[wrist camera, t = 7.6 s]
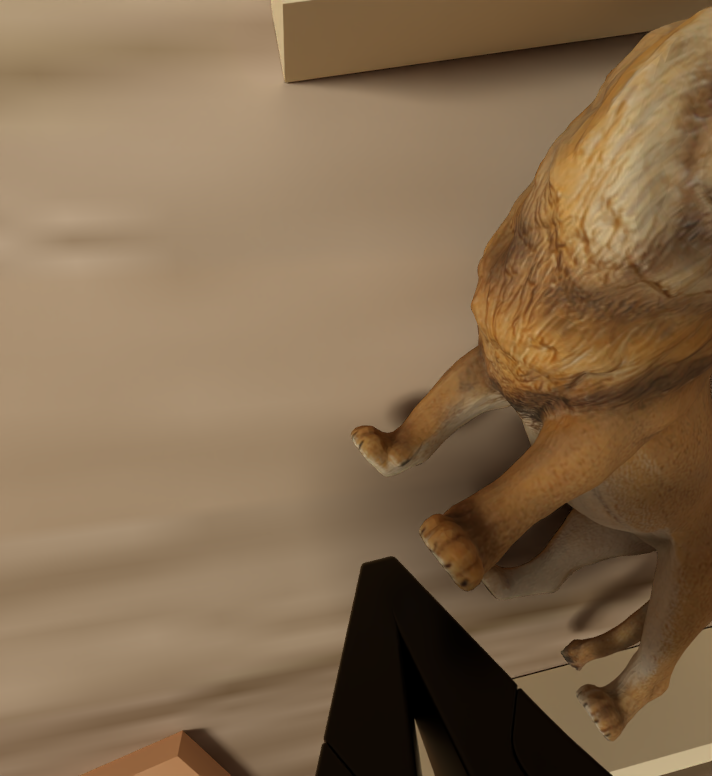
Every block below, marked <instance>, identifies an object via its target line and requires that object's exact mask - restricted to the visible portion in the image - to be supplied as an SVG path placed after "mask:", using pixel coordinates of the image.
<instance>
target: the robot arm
mask: <svg viewBox="0 0 712 776" xmlns="http://www.w3.org/2000/svg"><path fill="white" fill-rule="evenodd" d="M415 721H416V724H417V727H418V730H419V733H420V735H421V738H422V741H423V744H424V747H425V749H426V752H427V755H428V758H429V761H430V763H431V766H432V769H433V772H434V775H435V776H613V775H612V774H611V773H609V772H608V771H607V770H606V769H605V768H604V767H603V766H601V765H600V764H599V763H598V762H597V761H596V760H595V759H594V758H593V757H591V756H590V755H589V754H588V753H587V752H586V751H585V750H584V749H582V748H581V747H580V746H579V745H578V744H577V743H576V742H575V741H574V740H572V739H571V738H570V737H569V736H568V735H567V734H566V733H565V732H564V731H563V730H562V729H561V728H560V727H559V726H558V725H557V724H556V723H555V722H554V721H553V720H552V719H551V718H550V717H549V716H548V715H547V714H546V713H545V712H544V711H543V710H542V709H541V708H540V707H539V706H538V705H537V704H536V703H535V702H534V701H533V700H532V699H531V698H530V697H529V696H528V695H527V694H526V693H525V692H524V691H523V690H522V689H521V688H519V689H518V685H517V684H516V683H515V682H514V681H513V679H512V678H511V677H510V676H509V675H508V674H507V673H506V672H505V671H504V670H503V669H502V668H501V667H500V666H499V665H498V664H497V663H496V662H495V661H494V660H493V659H492V658H491V657H490V656H489V655H488V653H487V652H486V651H485V650H484V649H483V648H482V647H481V646H480V645H479V644H478V643H477V642H476V641H475V640H474V639H473V638H472V637H471V636H470V635H469V634H468V633H467V632H466V631H465V630H464V628H463V627H462V626H461V625H460V624H459V623H458V622H457V621H456V620H455V619H454V618H453V617H452V616H451V615H450V614H449V613H448V612H447V611H446V610H445V609H444V608H443V607H442V606H441V605H440V604H439V602H438V601H437V600H436V599H435V598H434V597H433V596H432V595H431V594H430V593H429V592H428V591H427V590H426V589H425V588H424V587H423V586H422V585H421V584H420V583H419V582H418V581H417V580H416V579H415V578H414V576H413V575H412V574H411V573H410V572H409V571H408V570H407V569H406V568H405V567H404V566H403V565H402V564H401V563H400V562H399V561H398V560H397V559H396V558H395V557H393V556H390V557H386V558H382V559H378V560H374V561H370V562H366V563H363V564H362V566H361V569H360V574H359V578H358V583H357V587H356V592H355V597H354V601H353V606H352V610H351V615H350V620H349V624H348V629H347V633H346V638H345V643H344V647H343V652H342V656H341V661H340V666H339V670H338V675H337V679H336V684H335V689H334V693H333V698H332V702H331V707H330V712H329V716H328V721H327V725H326V730H325V735H324V742H325V743H323V744H322V747H321V752H320V756H319V761H318V765H317V770H316V774H315V776H422V769H421V762H420V754H419V747H418V740H417V733H416V726H415Z"/></svg>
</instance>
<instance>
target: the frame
mask: <svg viewBox="0 0 712 776" xmlns="http://www.w3.org/2000/svg"><path fill="white" fill-rule="evenodd" d="M271 7H272V15H273V20H274V26H275V31H276V37H277V42H278V48H279V53H280V59H281V64H282V70H283V75H284V81H285V83H287V82H294V81H301V80H308V79H315V78H322V77H329V76H336V75H343V74H350V73H358V72H365V71H372V70H379V69H386V68H393V67H400V66H407V65H414V64H421V63H428V62H435V61H442V60H449V59H457V58H464V57H471V56H478V55H485V54H492V53H499V52H506V51H513V50H520V49H527V48H534V47H541V46H548V45H555V44H563V43H570V42H577V41H584V40H591V39H598V38H605V37H612V36H619V35H626V34H633V33H640V32H647V31H652V30H655V29H658V28H660V27H663V26H665V25H668V24H671V23H673V22H676V21H680V20H684V19H689V18H690V17H692V16H693V15H694V14H696V13H697V12H699V11H701V10H703V9H705V8H707V7H712V0H271ZM638 648H639V646H638V647H635V648H631V649H627V650H623V651H619V652H616V653H614V654H611V655H609V656H606V657H603V658H598V659H595V660H592V661H590V662H588V663H586V664H585V665H584V666H583V667H582V669H581V670H580V671H577V670H576V668H573V667H572V666H571V665H566V666H562V667H558V668H554V669H551V670H547V671H543V672H539V673H535V674H531V675H528V676H524V677H520V678H516V679H513V681H514V682H515V683H516V684H517V685H518V689H519V688H521V689H522V690H523V691H524V692H525V693H526V694H527V695H528V696H529V697H530V698H531V699H532V700H533V701H534V702H535V703H536V704H537V705H538V706H539V707H540V708H541V709H542V710H543V711H544V712H545V713H546V714H547V715H548V716H549V717H550V718H551V719H552V720H553V721H554V722H555V723H556V724H557V725H558V726H559V727H560V728H561V729H562V730H563V731H564V732H565V733H566V734H567V735H568V736H569V737H570V738H571V739H572V740H574V741H575V742H576V743H577V744H578V745H579V746H580V747H581V748H582V749H584V750H585V751H586V752H587V753H588V754H589V755H590V756H591V757H593V758H594V759H595V760H596V761H597V762H598V763H599V764H600V765H601V766H603V767H604V768H605V769H606V770H607V771H608V772H609V773H611V774H612V775H613V776H660V775H663V774H667V773H670V772H674V771H677V770H681V769H684V768H688V767H691V766H695V765H698V764H702V763H705V762H709V761H712V627H711V628H707V629H703V630H702V631H701V632H700V633H699V634H698V635H697V637H696V638H695V639H694V640H693V641H692V642H691V644H690V645H689V646H688V648H687V649H686V650H685V651H684V653H683V654H682V656H681V657H680V659H679V660H678V662H677V663H676V665H675V667H674V670H673V672H672V674H671V678H670V683H669V687H668V689H667V690H666V691H665V692H664V693H663V694H662V695H661V696H659V697H658V698H656V699H654V700H652V701H650V702H649V703H647V704H646V705H645V706H644V707H643V708H642V709H640V710H639V711H638V712H637V713H636V715H635V716H634V717H633V718H632V719H631V720H630V721H629V722H628V724H627V725H626V726H625V728H624V730H623V731H622V733H621V734H620V736H619V737H618V738H617V739H616V740H615V741H608V740H607V739H606V738H605V737H604V736H603V735H602V733H601V732H600V731H599V729H598V728H597V727H596V725H595V724H594V723H593V721H592V720H591V718H590V716H589V714H588V713H587V711H586V710H585V708H584V707H583V706H582V705H581V704H580V702H579V700H578V699H577V697H576V691H577V690H578V689H579V688H580V687H581V686H583V685H585V684H592V685H595V686H597V687H603V686H606V685H607V684H609V683H610V682H612V681H613V680H615V679H616V678H617V677H618V676H619V675H620V674H621V673H622V671H623V670H624V669H625V668H626V666H627V665H628V663H629V661H630V659H631V658H632V656H633V655H634V654H635V653H636V651H637V650H638ZM415 726H416V733H417V740H418V747H419V754H420V762H421V769H422V776H435V775H434V772H433V769H432V766H431V763H430V761H429V758H428V755H427V752H426V749H425V747H424V744H423V741H422V738H421V735H420V733H419V730H418V727H417V724H416V721H415Z"/></svg>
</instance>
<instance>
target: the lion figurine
mask: <svg viewBox="0 0 712 776" xmlns="http://www.w3.org/2000/svg"><path fill="white" fill-rule="evenodd" d="M478 277H479V280H478V285H477V288H476V291H475V294H474V297H473V300H472V303H471V310H472V312H473V313H474V315H475V318H476V321H477V324H478V334H479V340H478V346H477V347H476V348H474V349H473V350H471V351H470V352H468V353H467V354H466V355H464V356H463V357H462V358H460V359H459V360H458V361H457V362H456V363H455V364H454V365H453V366H452V367H451V368H450V369H449V370H448V371H447V372H446V373H445V374H444V375H443V376H442V377H441V378H440V379H439V381H438V382H437V383H436V384H435V385H434V387H433V388H432V389H431V390H430V392H429V393H428V394H427V395H426V396H425V397H424V398H423V399H422V400H421V401H420V402H419V404H418V405H417V406H416V407H415V408H414V409H413V411H412V412H411V413H410V415H409V416H408V417H407V419H406V420H405V421H404V423H403V424H402V425H401V426H400V427H399V428H397V429H396V430H395V431H393V432H390V433H385V432H381V431H380V430H378V429H376V428H375V427H373V426H360V427H357V428H355V429H354V430H353V431H352V433H351V439H352V441H353V442H354V444H355V445H356V446H357V448H358V449H359V450H360V452H361V453H362V455H363V456H364V457H365V458H366V460H367V461H368V462H369V463H370V464H371V465H373V466H374V467H375V468H376V469H377V470H378V472H379V473H381V474H382V475H383V476H386V477H389V476H394V475H397V474H399V473H401V472H403V471H405V470H407V469H409V468H411V467H412V466H414V465H416V466H417V465H419V464H422V463H423V462H424V461H426V460H427V459H428V458H429V457H430V456H431V455H432V454H433V453H434V452H435V451H436V450H437V448H438V447H439V446H440V445H441V444H442V443H443V442H444V441H445V440H446V439H447V438H448V437H449V436H450V435H451V434H453V433H454V432H455V431H456V430H457V429H458V428H460V427H461V426H463V425H464V424H466V423H467V422H469V421H470V420H472V419H473V418H475V417H476V416H478V415H480V414H481V413H483V412H486V411H489V410H495V409H501V408H505V407H509V406H512V407H513V408H514V409H515V410H516V411H517V413H518V415H519V416H520V418H521V419H522V421H523V425H524V428H525V431H526V433H527V436H528V438H529V442H530V444H531V447H530V448H529V449H528V450H527V451H526V452H525V453H524V454H523V455H522V456H521V457H520V458H519V459H518V460H517V461H516V462H515V463H514V464H513V465H512V466H511V467H510V468H509V469H508V470H507V471H506V472H505V473H504V474H503V475H501V476H500V477H499V478H498V479H497V480H495V481H494V482H492V483H491V484H489V485H487V486H486V487H484V488H483V489H481V490H480V491H478V492H476V493H475V494H473V495H472V496H470V497H468V498H467V499H465V500H463V501H461V502H459V503H457V504H455V505H453V506H452V507H451V508H450V509H449V510H447V511H446V512H445V513H444V515H442V514H435V515H432V516H431V517H429V518H428V519H426V520H425V521H424V523H423V524H422V526H421V527H420V531H419V534H420V536H421V538H422V539H423V541H424V543H425V544H426V545H427V547H428V548H429V550H430V551H431V552H432V553H433V555H434V556H435V557H436V558H437V560H438V561H439V562H440V564H441V565H442V566H443V568H444V569H445V570H446V571H447V572H448V574H449V575H450V576H451V577H452V579H453V580H454V582H455V583H456V584H457V585H458V586H459V587H460V588H461V589H462V590H464V591H471V590H473V589H474V588H475V587H476V586H478V585H479V584H480V582H481V581H482V582H483V583H484V585H485V586H486V588H487V589H488V590H489V592H490V593H491V594H492V595H493V596H494V597H495V598H497V599H499V600H507V599H511V598H515V597H521V596H528V595H535V594H544V593H554V592H555V591H557V590H558V589H559V588H560V586H561V585H562V584H563V583H564V581H565V580H566V579H567V578H568V577H569V576H570V575H571V574H572V573H573V572H575V571H576V570H578V569H580V568H581V567H583V566H587V565H590V564H593V563H596V562H599V561H602V560H605V559H609V558H614V557H618V556H629V555H639V554H645V553H650V552H653V551H657V553H658V554H657V567H656V571H655V575H654V581H653V586H652V592H651V597H650V600H649V601H648V602H647V603H645V604H644V605H643V606H642V607H641V608H640V609H638V610H637V611H636V612H634V613H633V614H632V615H630V616H629V617H628V618H627V619H626V620H625V621H623V622H622V623H621V624H619V625H618V626H616V627H615V628H613V629H611V630H609V631H608V632H606V633H604V634H602V635H599V636H596V637H594V638H589V639H583V640H578V639H577V640H573V641H571V643H570V644H569V645H568V646H566V647H565V649H564V650H563V651H561V654H562V655H563V657H564V658H565V660H566V661H567V662H568V663H569V664H570V665H571V666H572V667H573V668H576V670H577V671H580V670H581V669H582V667H583V666H584V665H585V664H586V663H588V662H590V661H592V660H595V659H598V658H603V657H606V656H609V655H611V654H614V653H616V652H618V651H621V650H623V649H625V648H628V647H630V646H632V645H634V644H636V643H638V642H639V641H640V645H639V648H638V650H637V651H636V653H635V654H634V655H633V656H632V658H631V659H630V661H629V663H628V665H627V666H626V668H625V669H624V670H623V671H622V673H621V674H620V675H619V676H618V677H617V678H616V679H615V680H613V681H612V682H610V683H609V684H607V685H606V686H603V687H597V686H595V685H592V684H585V685H583V686H581V687H580V688H579V689H578V690H577V691H576V697H577V699H578V700H579V702H580V704H581V705H582V706H583V707H584V708H585V710H586V711H587V713H588V714H589V716H590V718H591V720H592V721H593V723H594V724H595V725H596V727H597V728H598V729H599V731H600V732H601V733H602V735H603V736H604V737H605V738H606V739H607V740H608V741H615V740H616V739H617V738H618V737H619V736H620V734H621V733H622V731H623V730H624V728H625V726H626V725H627V724H628V722H629V721H630V720H631V719H632V718H633V717H634V716H635V715H636V713H637V712H638V711H639V710H640V709H642V708H643V707H644V706H645V705H646V704H647V703H649V702H650V701H652V700H654V699H656V698H658V697H659V696H661V695H662V694H663V693H664V692H665V691H666V690H667V689H668V687H669V683H670V678H671V674H672V672H673V670H674V667H675V665H676V663H677V662H678V660H679V659H680V657H681V656H682V654H683V653H684V651H685V650H686V649H687V648H688V646H689V645H690V644H691V642H692V641H693V640H694V639H695V638H696V637H697V635H698V634H699V633H700V632H701V631H702V630H703V629H704V628H705V627H706V626H707V625H708V624H709V623H710V622H711V621H712V400H711V392H710V377H711V375H712V7H707V8H705V9H703V10H701V11H699V12H697V13H696V14H694V15H693V16H692V17H690V18H689V19H684V20H680V21H676V22H673V23H671V24H668V25H665V26H663V27H660V28H658V29H655V30H652V31H650V32H649V33H648V34H646V35H645V36H644V37H643V38H642V39H641V40H640V42H639V43H638V44H637V45H636V46H635V48H634V49H633V50H632V51H631V52H630V53H629V54H628V55H627V56H626V57H625V58H624V59H623V60H622V61H621V62H620V63H619V64H618V65H617V66H616V68H614V69H613V70H612V71H611V72H610V73H609V74H608V75H607V77H606V80H605V82H604V83H603V85H602V86H601V88H600V90H599V92H598V94H597V96H596V99H595V100H594V101H593V102H592V103H591V104H590V105H589V106H588V107H587V108H586V109H585V110H584V111H583V112H582V113H581V114H580V115H579V116H578V117H576V118H575V119H574V120H573V121H572V122H571V123H570V125H569V126H568V127H567V129H566V130H565V131H564V132H563V133H562V134H561V135H560V136H559V137H558V138H557V139H556V140H555V142H554V143H553V144H552V146H551V147H550V149H549V151H548V153H547V154H546V156H545V158H544V159H543V161H542V162H541V163H540V165H539V168H538V170H537V172H536V175H535V178H534V180H533V181H532V183H531V184H530V185H529V186H528V188H527V189H526V190H525V191H524V192H523V193H522V194H521V195H520V196H519V198H518V199H517V200H516V201H515V203H514V205H513V207H512V209H511V211H510V213H509V215H508V216H507V217H506V219H505V220H504V221H503V223H502V224H501V225H500V227H499V229H498V230H497V231H496V233H495V234H494V235H493V236H492V238H491V239H490V241H489V242H488V244H487V246H486V248H485V250H484V255H483V257H482V259H481V260H480V262H479V265H478ZM565 503H568V504H569V505H570V506H572V507H573V510H572V511H571V512H570V513H569V515H568V516H567V518H566V520H565V521H564V523H563V524H562V526H561V527H560V528H559V529H558V531H557V532H556V533H555V535H554V536H553V538H552V539H551V540H550V542H549V543H548V545H547V546H546V547H545V549H544V550H543V551H542V552H541V553H540V554H539V555H538V556H536V557H535V558H534V559H532V560H531V561H530V562H528V563H526V564H523V565H521V566H518V567H511V568H504V567H500V566H498V565H496V563H497V562H498V561H499V560H500V559H501V558H502V556H503V555H504V554H505V553H506V551H507V550H508V549H509V548H510V547H511V546H512V545H513V544H514V543H515V542H516V541H517V540H518V539H519V538H520V537H521V536H522V535H523V534H524V533H525V532H526V531H527V530H528V529H530V528H531V527H532V526H533V525H534V524H535V523H537V522H538V521H540V520H541V519H543V518H545V517H546V516H548V515H550V514H551V513H552V512H554V511H555V510H557V509H558V508H559V507H561V506H562V505H564V504H565Z"/></svg>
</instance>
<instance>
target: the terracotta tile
mask: <svg viewBox="0 0 712 776" xmlns="http://www.w3.org/2000/svg"><path fill="white" fill-rule="evenodd" d="M80 776H231V775H230V774H229V773H228V772H227V771H226V770H225V769H224V768H223V767H221V766H220V765H219V764H218V763H217V762H216V761H215V760H214V759H213V758H212V757H211V756H210V755H209V754H207V753H206V752H205V751H204V750H203V749H202V748H201V747H200V746H199V745H198V744H197V743H196V742H195V741H193V740H192V739H191V738H190V737H189V736H188V735H187V734H186V733H185V732H184V731H180V732H178V733H176V734H174V735H171V736H169V737H167V738H165V739H162V740H160V741H158V742H155V743H153V744H151V745H149V746H146V747H144V748H142V749H139V750H137V751H135V752H133V753H130V754H128V755H126V756H123V757H121V758H119V759H117V760H114V761H112V762H110V763H107V764H105V765H103V766H101V767H98V768H96V769H94V770H91V771H89V772H87V773H85V774H82V775H80Z"/></svg>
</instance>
